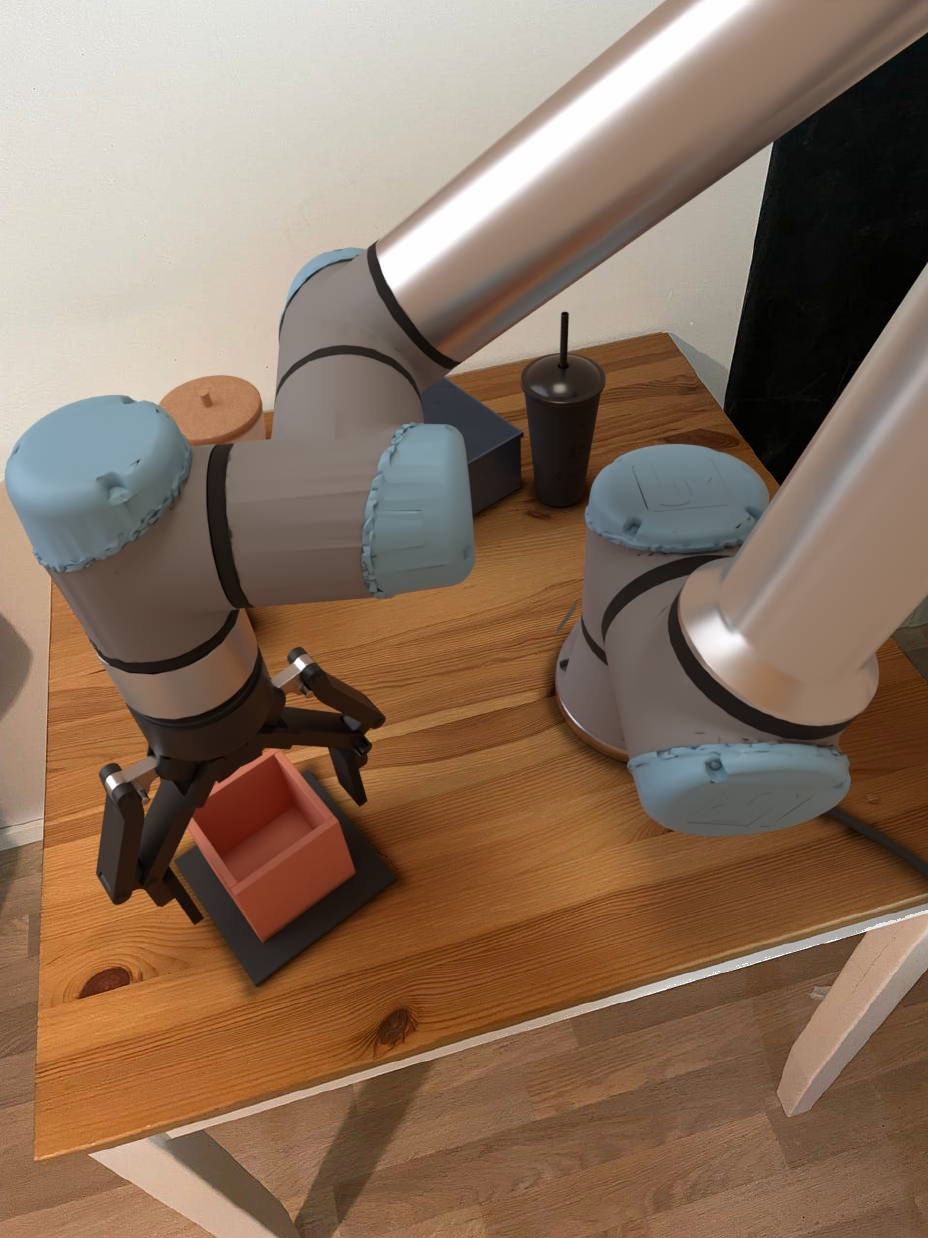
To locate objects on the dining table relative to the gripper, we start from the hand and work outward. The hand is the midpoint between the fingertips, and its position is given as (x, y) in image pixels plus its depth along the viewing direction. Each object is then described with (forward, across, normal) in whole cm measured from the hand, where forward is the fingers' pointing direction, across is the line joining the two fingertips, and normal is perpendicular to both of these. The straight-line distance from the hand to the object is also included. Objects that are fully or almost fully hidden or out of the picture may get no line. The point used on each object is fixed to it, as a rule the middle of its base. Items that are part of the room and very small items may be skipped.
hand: (274, 847), depth 66 cm
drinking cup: (+3, -43, -17) cm, 46 cm away
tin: (+4, -34, -27) cm, 44 cm away
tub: (+3, 0, 0) cm, 3 cm away
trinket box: (+4, -20, -44) cm, 48 cm away
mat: (+4, 0, 0) cm, 4 cm away
